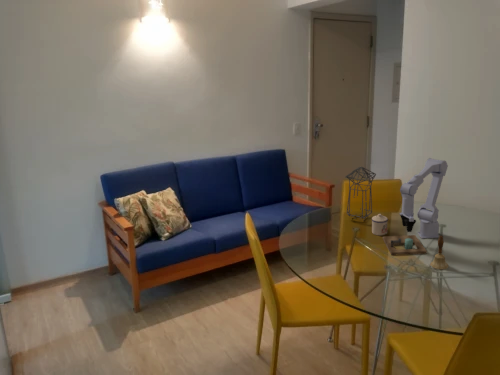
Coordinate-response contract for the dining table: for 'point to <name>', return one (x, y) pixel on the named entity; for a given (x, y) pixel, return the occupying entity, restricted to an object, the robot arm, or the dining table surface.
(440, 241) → the hand bell
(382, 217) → the teacup with lid
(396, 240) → the hook arm
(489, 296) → the dining table surface
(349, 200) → the geometric lantern
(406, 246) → the bobbin
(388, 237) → the wooden picture frame
